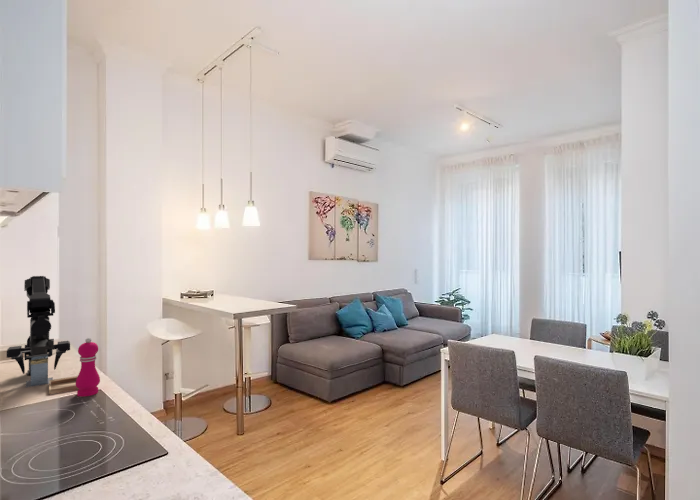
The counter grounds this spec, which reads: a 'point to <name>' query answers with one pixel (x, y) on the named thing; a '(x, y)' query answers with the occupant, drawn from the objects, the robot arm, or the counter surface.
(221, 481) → the counter surface
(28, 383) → the mat
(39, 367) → the tin
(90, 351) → the pepper mill
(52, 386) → the beige shallow tray
